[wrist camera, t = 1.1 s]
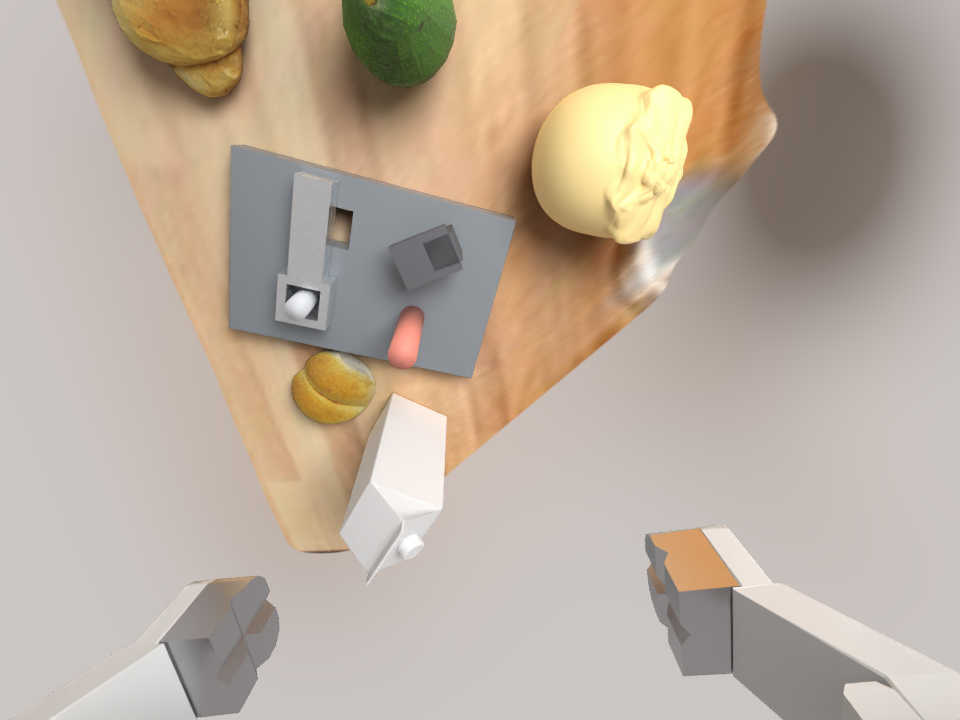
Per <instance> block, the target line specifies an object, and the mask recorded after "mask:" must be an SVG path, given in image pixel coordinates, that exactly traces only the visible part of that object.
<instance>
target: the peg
mask: <svg viewBox="0 0 960 720" xmlns="http://www.w3.org/2000/svg"><path fill="white" fill-rule="evenodd" d="M423 323H424V313H423V311H422V310H421V309H420V308H419V307H417V306H412V305H411V306H407V307H405V308H404V309H403V310H402V312H401V314H400V317H399V320H398V323H397V326H396V329H395V332H394V335H393V338H392V341H391V344H390V347H389V351H388V360H389V362H390V363H391V365H393V366H394V367H396V368H398V369H408V368H410V367H412V366H413V365H414V364H415V362H416V360H417V354H418V349H419V344H420V339H421V334H422V328H423Z"/></svg>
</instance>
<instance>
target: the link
mask: <svg viewBox="0 0 960 720" xmlns="http://www.w3.org/2000/svg"><path fill="white" fill-rule="evenodd" d="M338 188H339V180H336V179H332V178H328V177H324V176H320V175H317V174H313V173H309V172H305V171H302V172H298V173H294V184H293V199H292V213H291V227H290V242H289V256H288V266H287V267H286V268H284V269H283V270H282V271H280V272H279V273H278V280H277V297H276V314H275V320H277V321H282V322H286V323H291V324H296V325H300V326H305V327H310V328H315V329H319V330H324V331H325V330H326V329H327V328H328V326H329V325H330V323H331V322H332V317H333V309H334V300H335V292H336V284H337V277H333V276H329V269H330V260H331V251H332V242H333V233H334V224H335V215H336V206H337V197H338ZM295 286H298V287H303V288H307V289H312V290H316V291H321V292H320V302H319V311H318V310H314V309H312V310H311V311H310V312H309V314H308V315H307V316H306V317H305V318H304V319H303V320H300V321H295V320H292V319H290V318H289V317H288V316H287V315H286V314H285V312H284V305H285V303H286V302H287V301H288V300H289V299H290V298H291V297H292V296H293V295H294V292H295Z"/></svg>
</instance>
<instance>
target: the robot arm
mask: <svg viewBox="0 0 960 720" xmlns="http://www.w3.org/2000/svg"><path fill="white" fill-rule="evenodd" d="M645 548H646V553H647V555H648V557H649V559H650V562H651V565H650V566H649V568H648V569H647V575H648V584H649V589H650V594H651V599H652V601H653V605H654V608H655V611H656V613H657V616H658V618H659V621H660V622H661V623H662V624H664V625H665V626H666V627H668V641H669V644H670V647H671V649H672V651H673V654H674V656H675V658H676V661H677V663H678V665H679V667H680V670H681V672H682V675H683V676H693V675H711V674H730V673H731V674H732V673H733V676H734V677H735V678H736V679H737V680H738V681H740V682H741V683H742V684H743V685H744V686H745V687H746V688H748V689H749V690H750V691H751V692H752V693H753V694H754V695H756V696H757V697H758V698H759V699H760V700H761V701H762V702H764V703H765V704H766V705H767V706H768V707H769V708H770V709H772V710H773V711H774V712H775V713H776V714H777V715H778V716H780V717H781V718H782V719H783V720H960V675H959V674H958V673H957V672H955V671H953V670H951V669H949V668H947V667H945V666H943V665H941V664H939V663H937V662H935V661H933V660H931V659H930V658H928V657H926V656H924V655H922V654H920V653H918V652H916V651H914V650H912V649H910V648H908V647H906V646H904V645H902V644H900V643H898V642H896V641H894V640H892V639H890V638H888V637H886V636H884V635H882V634H880V633H879V632H877V631H874V630H873V629H871V628H869V627H867V626H865V625H863V624H861V623H859V622H857V621H855V620H853V619H851V618H849V617H847V616H845V615H843V614H841V613H839V612H837V611H835V610H833V609H831V608H830V607H828V606H826V605H824V604H822V603H820V602H818V601H816V600H814V599H812V598H810V597H808V596H806V595H804V594H802V593H800V592H798V591H796V590H794V589H792V588H790V587H788V586H786V585H784V584H782V583H777V584H773V583H772V582H771V580H770V579H769V578H768V577H767V575H766V574H765V573H764V572H763V570H762V569H761V568H760V567H759V566H758V564H757V563H756V562H755V561H754V559H753V558H752V557H751V556H750V555H749V553H748V552H747V551H746V550H745V548H744V547H743V546H742V545H741V543H740V542H739V541H738V540H737V538H736V537H735V536H734V535H733V533H732V532H731V531H730V530H729V529H728V527H727V526H725V525H723V524H719V525H711V526H705V527H697V528H696V529H686V530H677V531H668V532H660V533H651V534H646V537H645ZM269 591H270V590H269V588H268V585H267V582H266V580H265V578H263V577H260V576H249V577H237V578H226V579H216V580H206V581H195V582H193V583H191V584H188V585H187V586H186V587H185V588H184V589H183V590H182V591H181V592H180V593H179V594H178V595H177V596H176V598H175V599H174V600H173V601H172V602H171V603H170V604H169V605H168V606H167V607H166V609H165V610H164V611H163V612H162V613H161V614H160V615H159V616H158V618H156V620H155V621H154V622H153V623H152V624H151V625H150V626H149V627H148V628H147V630H146V631H145V632H144V633H143V634H142V635H141V636H140V637H139V638H138V639H137V641H136V642H135V643H134V644H133V645H132V646H130V647H123V648H122V649H120V650H119V651H117V652H116V653H114V654H112V655H111V656H109V657H108V658H106V659H105V660H103V661H101V662H100V663H98V664H97V665H95V666H94V667H92V668H91V669H89V670H87V671H86V672H84V673H82V674H81V675H79V676H78V677H76V678H75V679H73V680H71V681H70V682H68V683H67V684H65V685H64V686H62V687H60V688H59V689H57V690H56V691H54V692H53V693H51V694H49V695H48V696H46V697H45V698H43V699H42V700H40V701H38V702H37V703H35V704H34V705H32V706H31V707H29V708H27V709H26V710H24V711H23V712H21V713H20V714H18V715H16V716H15V717H13V718H12V719H10V720H197V719H196V718H198V717H207V716H216V715H224V714H232V713H239V712H240V710H241V708H242V707H243V705H244V703H245V701H246V699H247V698H248V696H249V694H250V692H251V690H252V688H253V687H254V685H255V683H256V681H257V679H258V678H257V671H256V669H257V668H258V667H259V666H260V665H261V664H263V663H264V662H265V661H266V660H267V659H268V658H269V657H270V655H271V653H272V651H273V649H274V648H275V646H276V642H277V637H278V633H279V617H278V614H277V611H276V608H275V607H274V606H273V605H272V604H270V603H269V602H268V601H267V600H266V598H267V596H268V594H269Z"/></svg>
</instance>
